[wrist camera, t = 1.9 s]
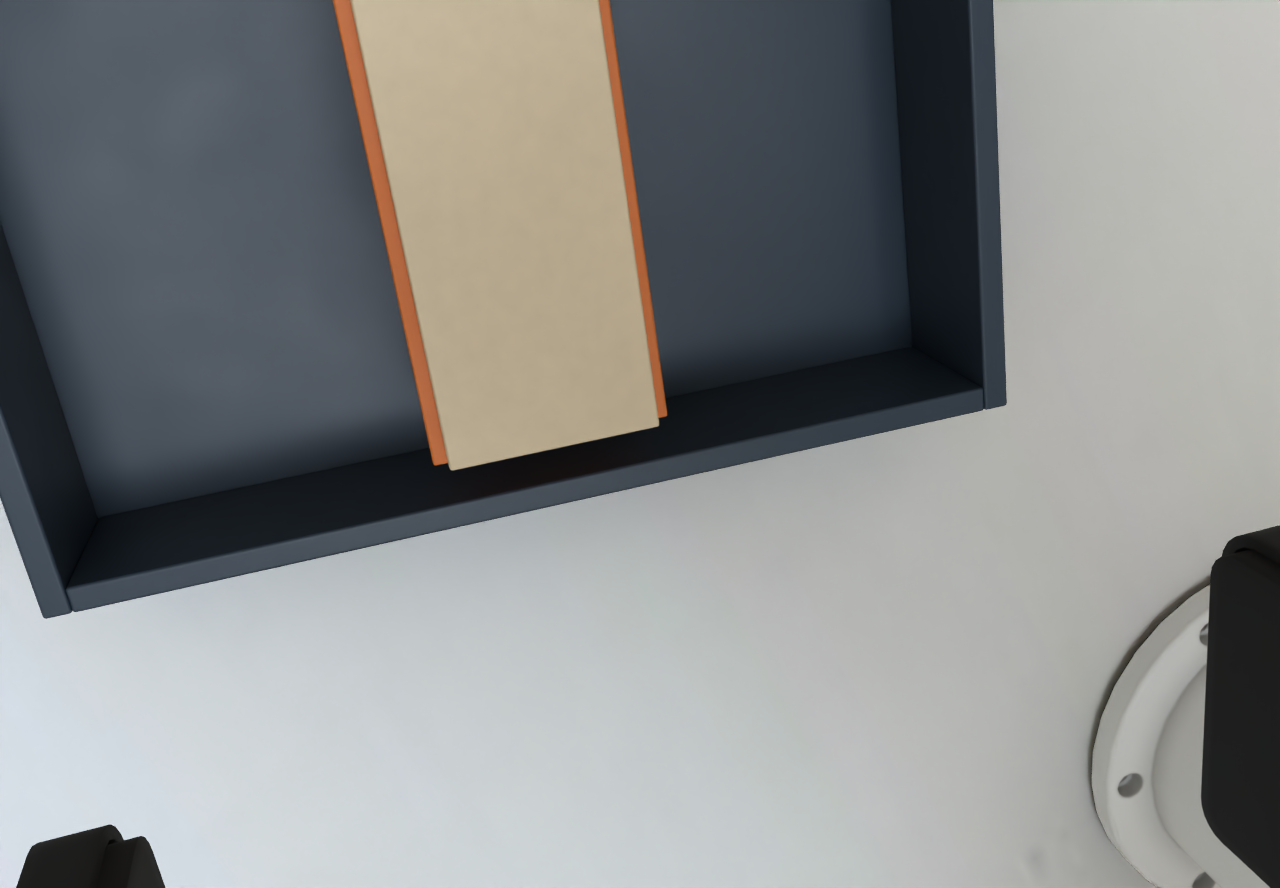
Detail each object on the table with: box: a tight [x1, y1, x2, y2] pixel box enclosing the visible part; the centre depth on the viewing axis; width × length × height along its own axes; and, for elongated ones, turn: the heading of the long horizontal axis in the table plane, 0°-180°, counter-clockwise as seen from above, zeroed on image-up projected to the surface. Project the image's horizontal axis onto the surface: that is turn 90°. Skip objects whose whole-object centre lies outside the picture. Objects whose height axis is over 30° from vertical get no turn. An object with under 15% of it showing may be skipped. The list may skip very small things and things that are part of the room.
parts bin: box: [0, 0, 1007, 618], centre depth 27 cm, size 22×15×4 cm
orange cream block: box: [333, 0, 667, 470], centre depth 26 cm, size 5×11×6 cm, turn 8°
